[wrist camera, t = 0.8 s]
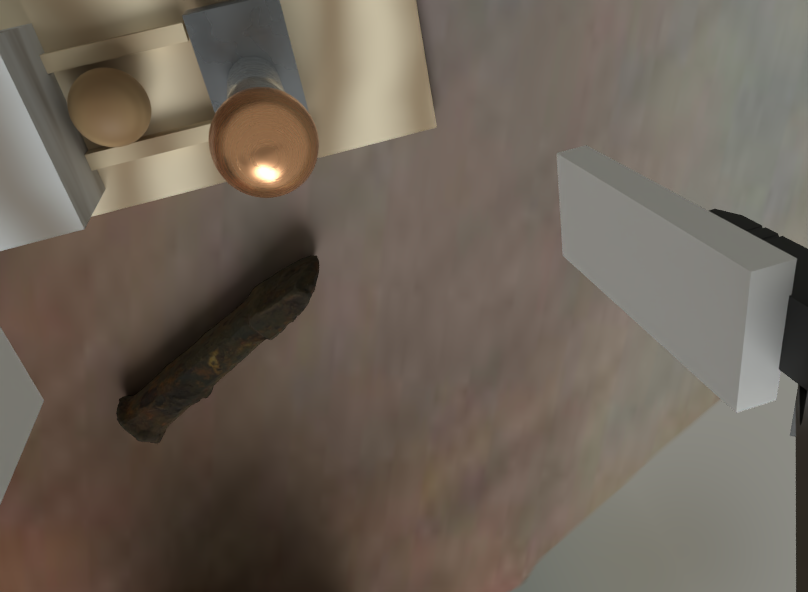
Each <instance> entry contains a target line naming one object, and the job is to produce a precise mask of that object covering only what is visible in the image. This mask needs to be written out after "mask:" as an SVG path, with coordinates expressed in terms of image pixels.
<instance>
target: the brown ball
mask: <svg viewBox="0 0 808 592" xmlns="http://www.w3.org/2000/svg"><path fill="white" fill-rule="evenodd" d="M67 106H68V112H69V116H70V118H71V120H72V122H73V124H74V126H75V127H76V128H77V130H78V131H79V132H80V133H81V134H82V135H83V136H84V137H86V138H87V139H89V140H90V141H92V142H94V143H96V144H99V145H102V146H106V147H122V146H126V145H129V144H131V143H134V142H135V141H137V140H138V139H139V138H140V137H142V135H143V134H144V133H145V132H146V130H147V128H148V126H149V124H150V120H151V103H150V100H149V97H148V95H147V93H146V91H145V90H144V88H143V87H142V85H141V84H140V83H139V82H138V81H137V80H136V79H135V78H133V77H132V76H130V75H129V74H127V73H125V72H123V71H121V70H118V69H114V68H107V67H103V68H95V69H92V70H89V71H87V72H85V73H83V74H82V75H80V76H79V77H78V78H77V79H76V80H75V81H74V83H73V84H72V86H71V88H70V90H69V93H68V99H67Z"/></svg>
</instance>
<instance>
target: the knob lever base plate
mask: <svg viewBox="0 0 808 592" xmlns="http://www.w3.org/2000/svg"><path fill="white" fill-rule="evenodd" d="M224 1H229V0H0V251H2V250H6V249H10V248H14V247H18V246H21V245H25V244H29V243H33V242H37V241H41V240H45V239H48V238H52V237H56V236H60V235H64V234H68V233H71V232H75V231H79V230H83V229H85V227H86V225H87V223H88V221H89V219H90V218H91V217H92V216H96V215H100V214H104V213H108V212H111V211H115V210H119V209H123V208H127V207H131V206H135V205H138V204H142V203H146V202H150V201H154V200H158V199H162V198H165V197H169V196H173V195H177V194H181V193H185V192H189V191H193V190H196V189H200V188H204V187H208V186H212V185H216V184H220V183H223V182H227V181H226V180H225V179H224V178H223V177H222V176H221V174H220V173H219V172H218V170H217V169H216V167H215V165H214V163H213V160H212V158H211V154H210V150H209V129H210V125H211V122H212V119H213V117H214V115H215V112H214V109H213V106H212V103H211V100H210V97H209V94H208V91H207V88H206V86H205V83H204V80H203V77H202V74H201V71H200V68H199V65H198V62H197V59H196V56H195V53H194V50H193V47H192V44H191V41H190V38H189V35H188V32H187V29H186V26H185V23H184V20H183V17H182V15H183V14H184V13H185V11H186V10H189V9H193V8H198V7H202V6H207V5H211V4H215V3H220V2H224ZM280 4H281V8H282V12H283V15H284V19H285V23H286V27H287V31H288V34H289V38H290V42H291V46H292V50H293V54H294V57H295V61H296V65H297V69H298V73H299V76H300V80H301V84H302V88H303V92H304V96H305V99H306V103H307V107H308V111H309V114H310V115H311V117H312V119H313V121H314V123H315V126H316V129H317V133H318V138H319V153H318V158H320V157H324V156H328V155H332V154H335V153H339V152H343V151H347V150H351V149H355V148H359V147H363V146H366V145H370V144H374V143H378V142H382V141H386V140H390V139H393V138H397V137H401V136H405V135H409V134H413V133H417V132H420V131H424V130H428V129H432V128H436V127H437V126H436V120H435V114H434V108H433V102H432V95H431V89H430V83H429V77H428V71H427V65H426V59H425V53H424V47H423V41H422V34H421V28H420V22H419V16H418V10H417V4H416V0H280ZM103 67H107V68H114V69H118V70H121V71H123V72H125V73H127V74H129V75H130V76H132V77H133V78H135V79H136V80H137V81H138V82H139V83H140V84H141V85H142V87H143V88H144V90H145V91H146V93H147V95H148V97H149V100H150V103H151V120H150V124H149V126H148V128H147V130H146V132H145V133H144V134H143V135H142V137H140V138H139V139H138V140H137V141H135V142H134V143H131V144H129V145H126V146H122V147H106V146H102V145H99V144H96V143H94V142H92V141H90V140H89V139H87V138H86V137H84V136H83V135H82V134H81V133H80V132H79V131H78V130H77V128H76V127H75V126H74V124H73V122H72V120H71V118H70V116H69V112H68V106H67V99H68V93H69V90H70V88H71V86H72V84H73V83H74V81H75V80H76V79H77V78H78V77H79V76H80V75H82V74H83V73H85V72H87V71H89V70H92V69H95V68H103Z"/></svg>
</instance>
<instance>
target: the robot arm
mask: <svg viewBox="0 0 808 592" xmlns="http://www.w3.org/2000/svg"><path fill="white" fill-rule="evenodd" d="M557 168H558V184H559V201H560V217H561V234H562V250H563V256H564V257H565V258H566V259H567V260H568V261H569V262H571V263H572V264H573V265H574V266H575V267H576V268H577V269H578V270H579V271H580V272H582V273H583V274H584V275H585V276H586V277H587V278H588V279H589V280H590V281H591V282H593V283H594V284H595V285H596V286H597V287H598V288H599V289H600V290H601V291H602V292H604V293H605V294H606V295H607V296H608V297H609V298H610V299H611V300H612V301H613V302H615V303H616V304H617V305H618V306H619V307H620V308H621V309H622V310H623V311H624V312H626V313H627V314H628V315H629V316H630V317H631V318H632V319H633V320H634V321H635V322H637V323H638V324H639V325H640V326H641V327H642V328H643V329H644V330H645V331H646V332H648V333H649V334H650V335H651V336H652V337H653V338H654V339H655V340H656V341H657V342H659V343H660V344H661V345H662V346H663V347H664V348H665V349H666V350H667V351H669V352H670V353H671V354H672V355H673V356H674V357H675V358H676V359H677V360H678V361H680V362H681V363H682V364H683V365H684V366H685V367H686V368H687V369H688V370H689V371H691V372H692V373H693V374H694V375H695V376H696V377H697V378H698V379H699V380H700V381H702V382H703V383H704V384H705V385H706V386H707V387H708V388H709V389H710V390H711V391H713V392H714V393H715V394H716V395H717V396H718V397H719V398H720V399H721V400H722V401H724V402H725V403H726V404H727V405H728V406H729V407H730V408H731V409H732V410H734V411H735V412H736V413H737V412H741V411H743V410H747V409H750V408H753V407H756V406H759V405H762V404H766V403H769V402H771V401H775V400H776V399H777V392H778V385H779V378H780V371H782V372H783V373H785V374H786V375H787V376H788V377H790V378H791V379H792V380H794V381H795V382H797V383H798V390H797V396H796V403H795V408H794V414H793V421H792V427H791V433H790V435H791V436H795V437H796V592H808V249H807V248H805V247H803V246H801V245H799V244H797V243H795V242H793V241H791V240H789V239H787V238H785V237H783V236H781V237H779V236H778V233H776V232H774V231H772V230H770V229H768V228H762V225H760V224H758V223H756V222H754V221H752V220H750V219H748V218H746V217H744V216H742V215H739V214H734V213H730V212H726V211H722V210H718V209H713V210H709V211H708V210H706V209H704V208H702V207H700V206H698V205H697V204H695V203H693V202H691V201H689V200H687V199H685V198H684V197H682V196H680V195H678V194H676V193H674V192H672V191H670V190H669V189H667V188H665V187H663V186H661V185H659V184H657V183H656V182H654V181H652V180H650V179H648V178H646V177H644V176H643V175H641V174H639V173H637V172H635V171H633V170H631V169H630V168H628V167H626V166H624V165H622V164H620V163H618V162H617V161H615V160H613V159H611V158H609V157H607V156H605V155H604V154H602V153H600V152H598V151H596V150H594V149H592V148H590V147H589V146H587V145H586V146H582V147H578V148H574V149H570V150H567V151H563V152H559V153H557ZM43 402H44V400H43V398H42V396H41V395H40V393H39V391H38V390H37V388H36V386H35V384H34V383H33V381H32V379H31V378H30V376H29V374H28V373H27V371H26V369H25V368H24V366H23V364H22V363H21V361H20V359H19V358H18V356H17V354H16V352H15V351H14V349H13V347H12V346H11V344H10V342H9V341H8V339H7V337H6V336H5V334H4V332H3V331H2V329H1V327H0V504H1V501H2V499H3V497H4V494H5V492H6V489H7V487H8V485H9V482H10V480H11V478H12V475H13V473H14V470H15V468H16V466H17V463H18V461H19V459H20V456H21V454H22V451H23V449H24V447H25V444H26V442H27V440H28V437H29V435H30V432H31V430H32V428H33V425H34V423H35V421H36V418H37V416H38V413H39V411H40V409H41V406H42V404H43Z"/></svg>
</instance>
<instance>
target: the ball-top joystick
mask: <svg viewBox="0 0 808 592" xmlns="http://www.w3.org/2000/svg"><path fill="white" fill-rule="evenodd" d="M182 17H183V20H184V23H185V26H186V29H187V32H188V35H189V38H190V41H191V44H192V47H193V50H194V53H195V56H196V59H197V62H198V65H199V68H200V71H201V74H202V77H203V80H204V83H205V86H206V88H207V91H208V94H209V97H210V100H211V103H212V106H213V109H214V112H215V115H214V117H213V119H212V122H211V125H210V129H209V150H210V154H211V158H212V160H213V163H214V165H215V167H216V169H217V170H218V172H219V173H220V174H221V176H222V177H223V178H224V179H225V180H226V181H227V182H228V183H229V184H230V185H231V186H233V187H234V188H235V189H237V190H239V191H240V192H243V193H245V194H248V195H251V196H255V197H262V198H271V197H278V196H282V195H285V194H287V193H290V192H292V191H293V190H295V189H296V188H298V187H299V186H300V185H302V184H303V183H304V182H305V181H306V180H307V178H308V177H309V176H310V174H311V173H312V171H313V169H314V167H315V164H316V161H317V159H318V153H319V138H318V133H317V129H316V126H315V123H314V121H313V119H312V117H311V115H310V114H309V111H308V107H307V103H306V99H305V96H304V92H303V88H302V84H301V80H300V76H299V73H298V69H297V65H296V61H295V57H294V54H293V50H292V46H291V42H290V38H289V34H288V31H287V27H286V23H285V19H284V15H283V12H282V8H281V4H280V0H229V1H224V2H220V3H215V4H211V5H207V6H202V7H198V8H193V9H189V10H186V11H185V13H184V14H183V15H182Z"/></svg>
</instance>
